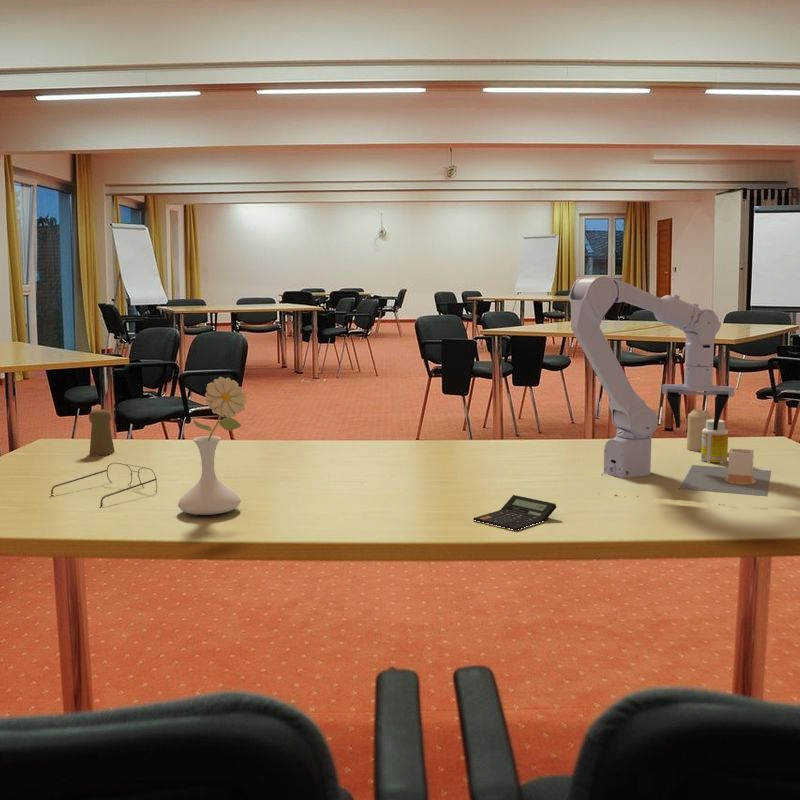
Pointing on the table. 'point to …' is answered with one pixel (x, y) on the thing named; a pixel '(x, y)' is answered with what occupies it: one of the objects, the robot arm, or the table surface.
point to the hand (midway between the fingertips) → (696, 428)
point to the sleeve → (740, 465)
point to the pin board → (725, 481)
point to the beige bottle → (696, 428)
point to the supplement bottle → (714, 443)
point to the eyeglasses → (110, 481)
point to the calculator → (519, 513)
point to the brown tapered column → (101, 433)
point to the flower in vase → (209, 490)
